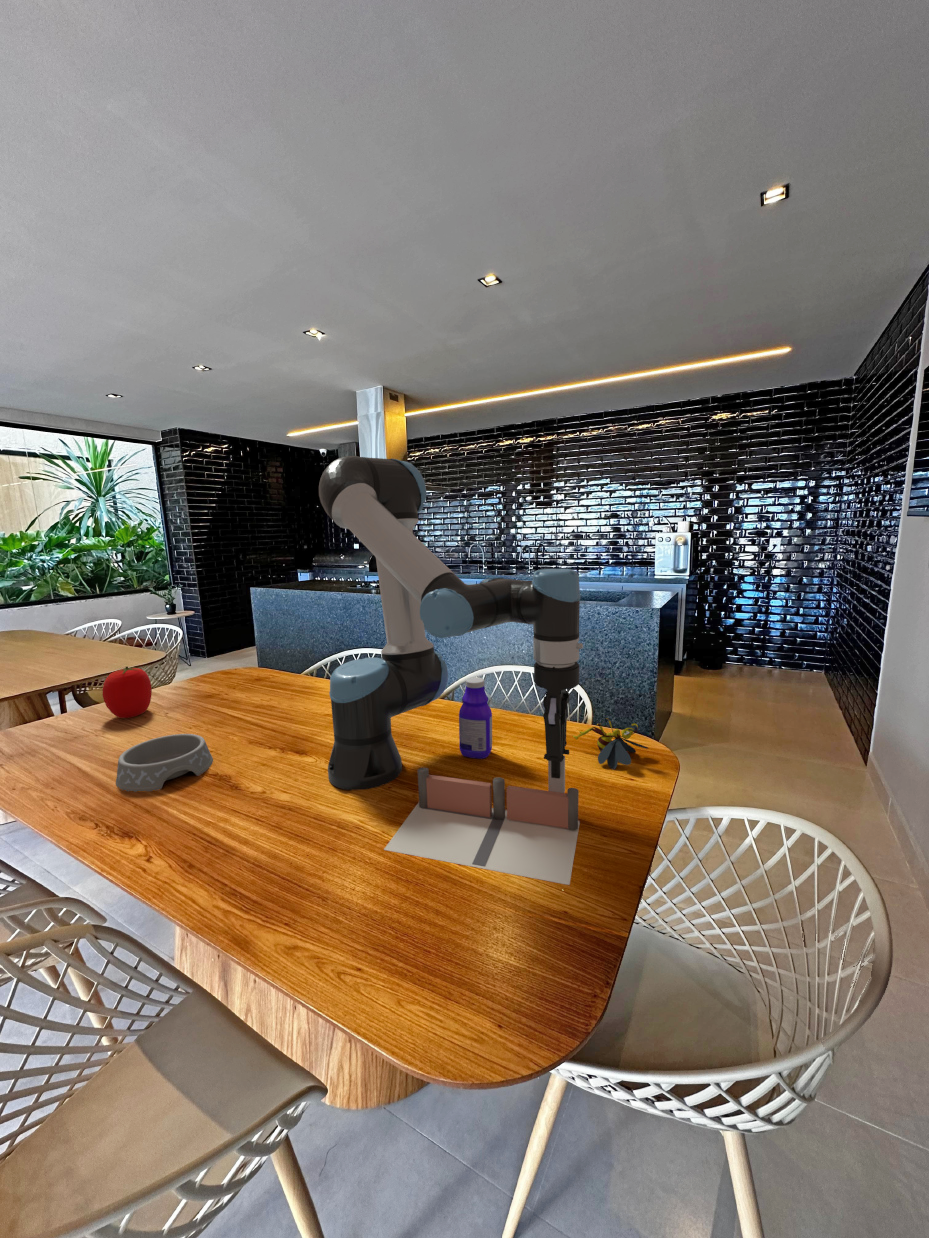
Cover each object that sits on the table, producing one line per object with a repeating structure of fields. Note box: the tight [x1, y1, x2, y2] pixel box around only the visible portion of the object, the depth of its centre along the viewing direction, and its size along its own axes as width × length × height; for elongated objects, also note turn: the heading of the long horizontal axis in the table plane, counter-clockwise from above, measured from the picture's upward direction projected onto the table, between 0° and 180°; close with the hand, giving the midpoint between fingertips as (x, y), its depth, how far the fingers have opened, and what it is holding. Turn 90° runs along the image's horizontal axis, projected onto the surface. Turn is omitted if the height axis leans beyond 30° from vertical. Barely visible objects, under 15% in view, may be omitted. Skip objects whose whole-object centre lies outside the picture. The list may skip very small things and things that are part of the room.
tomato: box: [102, 665, 153, 719], centre depth 141 cm, size 13×11×14 cm
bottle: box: [458, 676, 493, 760], centre depth 111 cm, size 7×6×17 cm
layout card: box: [383, 802, 581, 886], centre depth 83 cm, size 29×16×1 cm, turn 72°
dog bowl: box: [115, 733, 214, 793], centre depth 109 cm, size 17×18×5 cm
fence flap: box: [506, 785, 580, 830], centre depth 85 cm, size 12×2×7 cm, turn 72°
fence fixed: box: [417, 766, 506, 820], centre depth 90 cm, size 16×2×7 cm, turn 72°
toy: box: [572, 717, 650, 771], centre depth 110 cm, size 12×8×15 cm
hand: (556, 791), depth 89 cm, fingers closed
